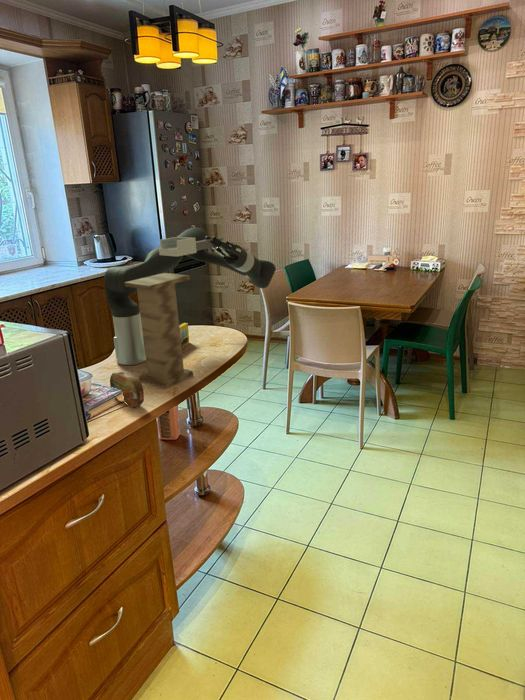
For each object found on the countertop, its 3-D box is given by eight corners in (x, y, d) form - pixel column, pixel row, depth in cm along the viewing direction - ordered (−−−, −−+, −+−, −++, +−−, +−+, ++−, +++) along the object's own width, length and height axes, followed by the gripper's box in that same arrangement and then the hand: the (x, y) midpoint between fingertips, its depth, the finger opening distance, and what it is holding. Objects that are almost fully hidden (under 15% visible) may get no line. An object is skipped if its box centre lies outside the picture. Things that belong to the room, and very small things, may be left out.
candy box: (169, 357, 177) (167, 335, 174) (164, 357, 177) (161, 335, 174) (190, 343, 191) (188, 322, 188) (185, 342, 192) (183, 322, 189)
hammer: (177, 256, 146) (176, 241, 145) (159, 255, 151) (157, 240, 149) (229, 245, 164) (228, 231, 163) (211, 244, 169) (210, 231, 167)
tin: (111, 396, 146) (106, 370, 144) (120, 393, 148) (116, 367, 146) (137, 411, 136) (134, 383, 133) (147, 407, 138) (144, 380, 135)
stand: (163, 389, 149) (150, 285, 138) (137, 381, 156) (123, 282, 145) (199, 372, 161) (190, 275, 150) (173, 365, 168) (163, 272, 157)
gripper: (251, 269, 171) (221, 250, 157) (221, 267, 179) (190, 248, 165) (257, 249, 172) (228, 228, 158) (227, 247, 180) (196, 227, 166)
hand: (209, 239), depth 161 cm, fingers closed on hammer, 2 cm apart
